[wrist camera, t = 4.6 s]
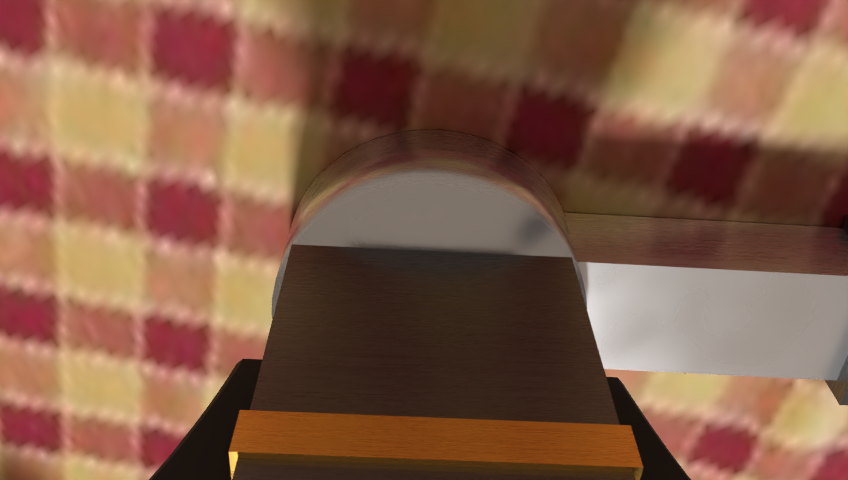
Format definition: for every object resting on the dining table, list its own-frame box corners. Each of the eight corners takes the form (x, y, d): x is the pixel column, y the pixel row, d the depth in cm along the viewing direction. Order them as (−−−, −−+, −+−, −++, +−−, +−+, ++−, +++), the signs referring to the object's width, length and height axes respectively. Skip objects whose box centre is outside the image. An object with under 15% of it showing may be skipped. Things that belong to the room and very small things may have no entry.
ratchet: (1168, 171, 16) (1463, 349, 11) (1028, 394, 19) (1213, 602, 15) (284, 121, 15) (222, 285, 11) (293, 357, 19) (248, 560, 14)
